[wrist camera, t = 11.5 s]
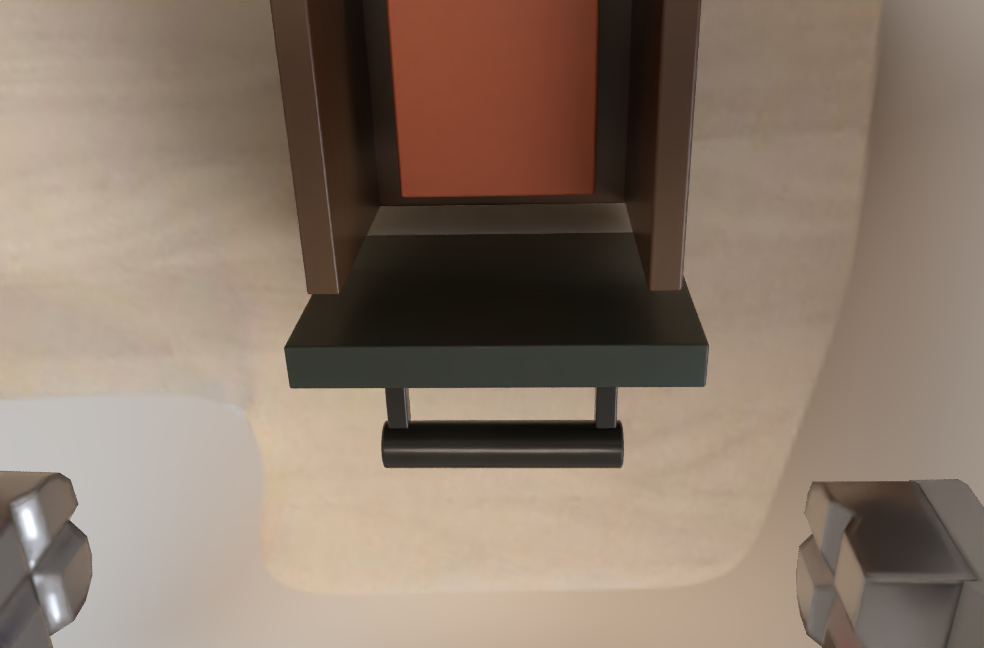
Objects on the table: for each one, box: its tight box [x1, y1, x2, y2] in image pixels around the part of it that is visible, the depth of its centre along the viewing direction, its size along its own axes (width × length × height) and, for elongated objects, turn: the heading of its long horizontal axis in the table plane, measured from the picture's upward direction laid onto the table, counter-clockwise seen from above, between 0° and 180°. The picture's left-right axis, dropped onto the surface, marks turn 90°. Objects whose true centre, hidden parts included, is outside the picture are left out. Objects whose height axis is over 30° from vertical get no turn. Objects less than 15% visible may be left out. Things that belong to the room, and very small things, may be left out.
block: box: [386, 0, 599, 197], centre depth 24 cm, size 5×5×4 cm
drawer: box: [270, 0, 709, 468], centre depth 24 cm, size 18×10×8 cm, turn 2°
